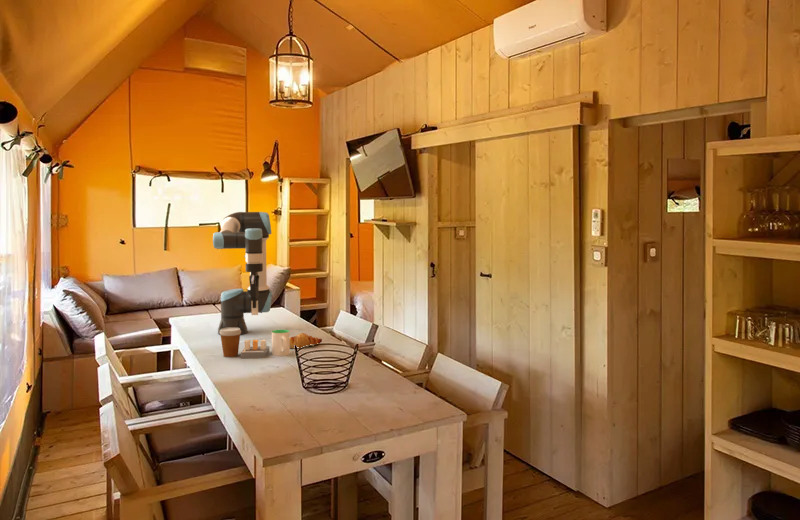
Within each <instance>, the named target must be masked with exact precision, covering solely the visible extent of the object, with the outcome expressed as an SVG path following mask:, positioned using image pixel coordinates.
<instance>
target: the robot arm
mask: <svg viewBox="0 0 800 520" xmlns="http://www.w3.org/2000/svg"><path fill="white" fill-rule="evenodd" d="M220 223H221V224H220V229H221V230H220V231H219V232H218V231H217V232H214V233H213V234H212V235H213V236H212V245H213V249H219V250H223V249H224V250H225V249H229V250H230V249H245V255H244V258H245V262H246V263H245V272H247V273H249V275H248V276H249V278H248V281H249V285H248V287H247V289H246V290H247V291H244V288H232V289H227V290H224V291H222V292H221V294H220V300H219V301H220V322H219V324H218V325H219V326H218V328H217V334H218V335H220V333H219V332H220V330H221V329H223V328H233V327H234V328H240V330H241V334H240V336H241V335H244V334H247V333H248V327H247V323H246V322H245V317H244V314H251V316H258V315H259V314H262V313H268V312H270V310H271V306H272V299H273V291H272V290H270V287H269V285H268V284H267V241H268V239H269V238H270V235H272V225H271V220H270V214H269V213H268V212H264V211H238V212H234V213H231V214H228V215H227V216H225V217H224V218H223V219H222V221H221V222H220Z"/></svg>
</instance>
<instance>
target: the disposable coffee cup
mask: <svg viewBox="0 0 800 520" xmlns="http://www.w3.org/2000/svg"><path fill="white" fill-rule="evenodd" d="M219 333H220V334H219V336H220V340H221V347H222V353H223V354H222V355H223V357H224V358H234V357H238V356H239V348H240V341H241V340H240V339H241V335H242V334H241V330H240V328H234V327H233V328H223V329H221V330H220V332H219ZM240 334H241V335H240Z"/></svg>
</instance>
